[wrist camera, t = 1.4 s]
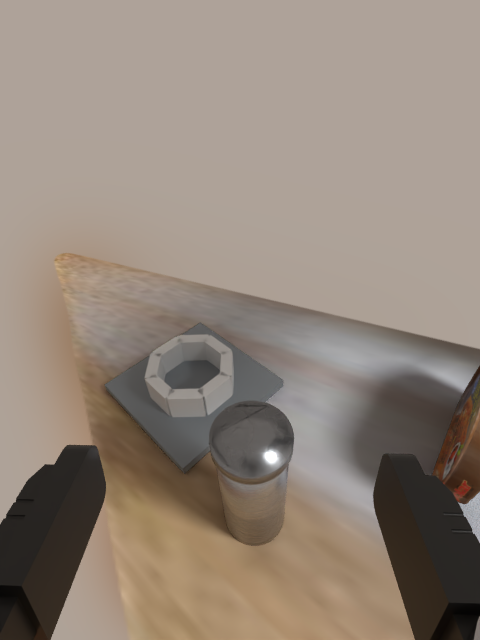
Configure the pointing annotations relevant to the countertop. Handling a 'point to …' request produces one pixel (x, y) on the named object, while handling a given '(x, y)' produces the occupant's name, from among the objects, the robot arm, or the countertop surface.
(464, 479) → the tin
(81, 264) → the countertop surface
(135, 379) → the collar
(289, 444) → the silver metal canister
